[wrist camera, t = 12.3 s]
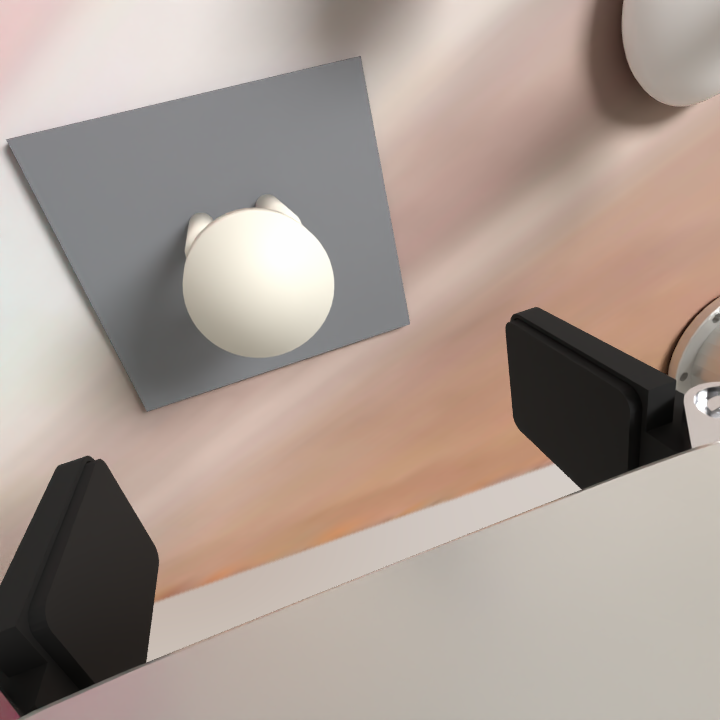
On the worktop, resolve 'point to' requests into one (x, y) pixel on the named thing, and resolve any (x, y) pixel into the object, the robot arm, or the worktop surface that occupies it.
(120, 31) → the worktop surface
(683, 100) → the flower in vase
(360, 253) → the mat
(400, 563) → the robot arm
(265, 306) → the stool
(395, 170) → the worktop surface
